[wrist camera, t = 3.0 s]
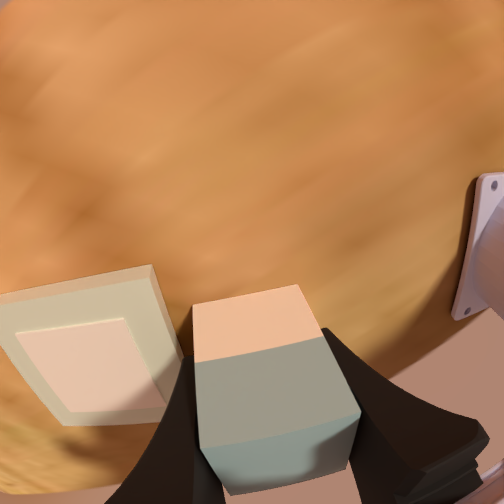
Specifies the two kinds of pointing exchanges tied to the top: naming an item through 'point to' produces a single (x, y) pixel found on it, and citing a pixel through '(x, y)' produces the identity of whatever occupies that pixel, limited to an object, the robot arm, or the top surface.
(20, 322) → the plate
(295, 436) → the brick stack
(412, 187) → the top surface
